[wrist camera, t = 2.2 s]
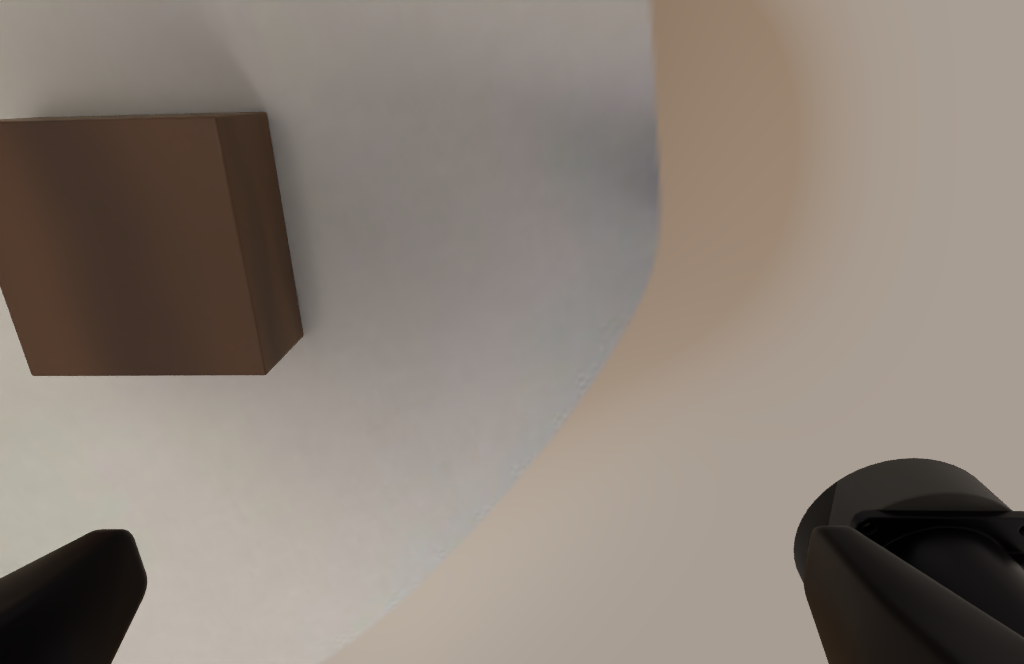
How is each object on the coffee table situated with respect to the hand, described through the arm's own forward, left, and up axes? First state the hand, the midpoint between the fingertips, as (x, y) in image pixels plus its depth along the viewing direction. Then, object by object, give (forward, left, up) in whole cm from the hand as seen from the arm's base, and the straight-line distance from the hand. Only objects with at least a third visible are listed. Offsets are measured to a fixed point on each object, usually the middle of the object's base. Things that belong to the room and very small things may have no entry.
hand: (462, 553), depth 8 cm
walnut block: (+10, -2, -12) cm, 16 cm away
